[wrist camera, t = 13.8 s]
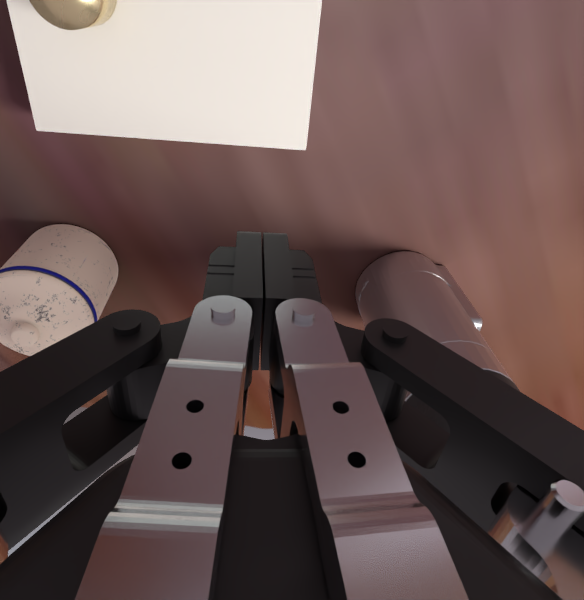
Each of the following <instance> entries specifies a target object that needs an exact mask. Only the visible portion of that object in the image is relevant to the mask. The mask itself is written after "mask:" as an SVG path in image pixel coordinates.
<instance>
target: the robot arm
mask: <svg viewBox="0 0 584 600" xmlns="http://www.w3.org/2000/svg"><path fill="white" fill-rule="evenodd" d="M355 297H356V302H357V305H358V309H359V312H360V315H361V317H362V320H363V323H364V326H365V330H364V331H362V330H358V329H354V328H350V327H346V326H344V325H341V324H339V323H337V322H335V321H334V320H333V317H332V314H331V312H330V310H329V309H328V308H327V307H326V306H325V305H323V304H322V301H321V297H320V292H319V288H318V283H317V279H316V274H315V271H314V265H313V260H312V258H311V257H310V256H309V255H308V254H307V253H306V252H305V251H304V250H289V244H288V237H287V234H283V233H263V239H262V244H261V232H242V231H237V241H236V247H220V246H219V247H218V248H217V249H216V250H215V251H214V252H213V253H212V254H210V259H209V266H208V271H207V277H206V283H205V288H204V294H203V300H202V301H201V302H199V303H198V304H197V305H196V306H195V308H194V311H193V314H192V316H191V317H189V318H187V319H185V320H182V321H179V322H175V323H169V324H164V325H160V322H159V320H158V318H157V317H156V316H154V315H153V314H151V313H149V312H146V311H142V310H123V311H119V312H115V313H112V314H110V315H108V316H106V317H104V318H102V319H100V320H98V321H96V322H94V323H92V324H91V325H89V326H87V327H85V328H83V329H81V330H79V331H77V332H75V333H73V334H72V335H70V336H68V337H66V338H64V339H62V340H60V341H58V342H56V343H54V344H53V345H51V346H49V347H47V348H45V349H43V350H41V351H39V352H37V353H35V354H34V355H32V356H30V357H28V358H26V359H24V360H22V361H20V362H18V363H17V364H15V365H13V366H11V367H9V368H7V369H5V370H3V371H1V372H0V600H584V431H583V430H582V429H580V428H578V427H577V426H575V425H573V424H572V423H570V422H569V421H567V420H565V419H564V418H562V417H560V416H559V415H557V414H555V413H554V412H552V411H551V410H549V409H547V408H546V407H544V406H542V405H541V404H539V403H537V402H536V401H534V400H532V399H531V398H529V397H528V396H526V395H524V394H523V393H521V392H520V391H519V389H518V388H517V386H516V385H515V384H514V382H513V381H512V379H511V378H510V376H509V375H508V373H507V372H506V370H505V369H504V367H503V366H502V364H501V363H500V361H499V360H498V358H497V357H496V355H495V354H494V352H493V351H492V349H491V348H490V346H489V345H488V343H487V342H486V341H485V339H484V338H483V336H482V335H481V333H480V329H481V327H482V324H483V321H482V318H481V317H480V315H479V314H478V312H477V311H476V310H475V308H474V307H473V305H472V304H471V302H470V301H469V300H468V298H467V297H466V295H465V294H464V293H463V291H462V290H461V288H460V287H459V285H458V284H457V283H456V281H455V280H454V278H453V277H452V275H451V274H450V273H449V271H448V270H447V268H446V267H445V266H439V265H436V264H434V263H433V262H432V261H431V260H430V259H429V258H428V257H426V256H424V255H422V254H419V253H416V252H409V251H401V252H394V253H391V254H387V255H385V256H383V257H381V258H379V259H377V260H375V261H374V262H373V263H371V264H370V265H369V266H368V267H367V268H366V269H365V270H364V271H363V273H362V274H361V276H360V278H359V279H358V282H357V285H356V291H355ZM260 346H261V370H270V381H269V401H270V409H271V416H272V423H273V431H274V438H275V439H273V440H261V439H256V438H251V437H247V436H243V435H244V427H245V418H246V410H247V401H248V390H249V386H250V384H251V380H252V370H258V368H259V353H260ZM105 390H107V394H108V395H107V396H105V397H104V398H102V399H101V400H99V401H98V402H96V403H95V404H93V405H92V406H90V407H89V408H87V409H86V410H85V411H83V412H81V413H80V414H79V415H77V416H76V417H74V418H73V419H71V420H70V421H68V422H67V423H65V424H64V422H65V420H66V419H67V417H68V416H69V415H70V414H71V413H72V412H73V411H75V410H76V409H78V408H79V407H81V406H82V405H84V404H85V403H87V402H88V401H90V400H91V399H93V398H94V397H96V396H97V395H99V394H100V393H102V392H103V391H105ZM63 424H64V425H63ZM137 445H138V447H137V450H136V453H135V455H133V456H131V457H129V458H127V459H125V460H123V461H122V462H120V463H118V464H117V465H115V466H114V467H112V468H111V469H110V470H108V471H107V472H106V473H104V472H105V471H106V470H107V469H109V468H110V467H111V466H112V465H113V464H115V463H116V462H117V461H118V460H120V459H121V458H122V457H123V456H124V455H126V454H127V453H128V452H129V451H130V450H132V449H133V448H134V447H135V446H137ZM102 473H104V474H103V475H102V476H101V477H99V476H100V475H101V474H102ZM98 477H99V478H98ZM96 478H98V479H97V480H96V481H95V482H94V483H93V484H91V485H90V486H89V487H88V488H87V489H86V490H84V491H83V492H82V493H81V494H80V495H79V496H78V497H77V498H75V499H74V500H73V501H72V502H71V503H70V504H68V505H67V506H66V507H65V508H64V509H63V510H62V511H60V512H59V513H58V514H57V515H56V516H55V517H53V518H52V519H51V520H50V521H49V522H48V523H47V524H46V525H44V526H43V527H42V528H41V529H40V530H39V531H37V532H36V533H35V534H34V535H33V536H32V537H30V538H29V539H28V540H27V541H26V542H25V543H24V544H22V545H21V546H20V547H19V548H18V549H17V550H16V551H15V552H13V553H12V554H11V555H10V556H9V557H8V551H9V550H10V549H11V548H12V547H13V546H15V545H16V544H17V543H18V542H20V541H21V540H22V539H23V538H24V537H26V536H27V535H28V534H29V533H30V532H32V531H33V530H34V529H35V528H37V527H38V526H39V525H40V524H41V523H43V522H44V521H45V520H46V519H48V518H49V517H50V516H51V515H52V514H54V513H55V512H56V511H57V510H59V509H60V508H61V507H62V506H63V505H65V504H66V503H67V502H68V501H70V500H71V499H72V498H73V497H74V496H75V495H77V494H78V493H79V492H80V491H82V490H83V489H84V488H85V487H87V486H88V485H89V484H90V483H91V482H93V481H94V480H95V479H96Z"/></svg>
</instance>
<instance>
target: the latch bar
mask: <svg viewBox="0 0 584 600" xmlns="http://www.w3.org/2000/svg"><path fill="white" fill-rule="evenodd" d="M29 1H30V3H31V4H32V6H33V7H34V9H35V10H36V11H37V12H38V13H39V15H40V16H41V17H43V18H44V19H45V20H46V21H47V22H49V23H50V24H52V25H54V26H56V27H58V28H61V29H65V30H78V29H84V28H89V27H94V26H98V25H101V24H103V23H105V22H106V21H108V20H109V19H110V18H111V16H112V15H113V13H114V11H115V8H116V4H117V0H29Z"/></svg>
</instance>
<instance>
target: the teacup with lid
mask: <svg viewBox="0 0 584 600" xmlns="http://www.w3.org/2000/svg"><path fill="white" fill-rule="evenodd" d="M117 278H118V264H117V261H116V258H115V256H114V254H113V252H112V250H111V249H110V248H109V246H108V245H107V244H106V243H105V242H104V241H103V240H102V239H101V238H99V237H98V236H97V235H95V234H94V233H92V232H90V231H88V230H86V229H83V228H81V227H78V226H74V225H68V224H55V225H49V226H46V227H43V228H41V229H39V230H37V231H36V232H35V233H33V234H32V235H31V236H30V237H29V238H28V239H27V240H26V242H25V243H24V244H23V245H22V246H21V247H20V248H19V249H18V250H17V251H16V252H15V253H14V254H13V256H12V257H11V258H10V259H9V260H8V261H7V262H6V263H5V264H4V265H3V266H2V267H1V268H0V343H2V344H3V345H5V346H7V347H8V348H10V349H12V350H14V351H17V352H19V353H22V354H25V355H28V356H32V355H34V354H35V353H37V352H39V351H41V350H43V349H45V348H47V347H49V346H51V345H53V344H54V343H56V342H58V341H60V340H62V339H64V338H66V337H68V336H70V335H72V334H73V333H75V332H77V331H79V330H81V329H83V328H85V327H87V326H89V325H91V324H92V323H94V322H96V321H98V319H99V317H100V315H101V313H102V311H103V309H104V307H105V305H106V303H107V301H108V299H109V297H110V294H111V292H112V290H113V288H114V286H115V284H116V282H117Z"/></svg>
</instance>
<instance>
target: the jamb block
mask: <svg viewBox="0 0 584 600" xmlns="http://www.w3.org/2000/svg"><path fill="white" fill-rule="evenodd" d="M6 1H7V5H8V10H9V14H10V18H11V23H12V27H13V31H14V36H15V40H16V44H17V49H18V53H19V57H20V62H21V66H22V70H23V75H24V79H25V83H26V88H27V92H28V96H29V101H30V105H31V109H32V114H33V118H34V122H35V127H36V131H47V132H61V133H75V134H89V135H102V136H116V137H130V138H144V139H158V140H171V141H185V142H199V143H213V144H226V145H240V146H254V147H268V148H281V149H295V150H306V145H307V136H308V126H309V117H310V108H311V98H312V89H313V80H314V70H315V61H316V52H317V42H318V33H319V24H320V14H321V5H322V0H117V4H116V8H115V11H114V13H113V15H112V16H111V18H110V19H109V20H108V21H106V22H105V23H103V24H101V25H98V26H94V27H89V28H84V29H78V30H65V29H61V28H58V27H56V26H54V25H52V24H50V23H49V22H47V21H46V20H45V19H44V18H43V17H41V16H40V15H39V13H38V12H37V11H36V10H35V9H34V7H33V6H32V4H31V3H30V1H29V0H6Z"/></svg>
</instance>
